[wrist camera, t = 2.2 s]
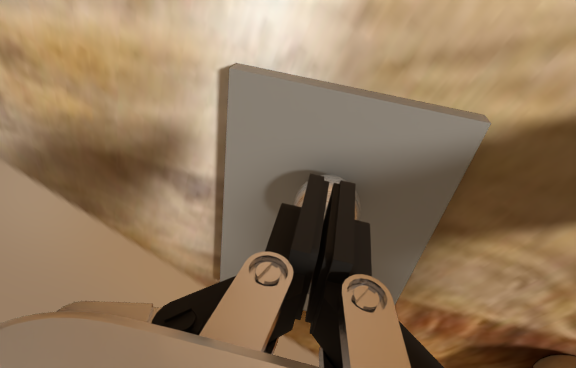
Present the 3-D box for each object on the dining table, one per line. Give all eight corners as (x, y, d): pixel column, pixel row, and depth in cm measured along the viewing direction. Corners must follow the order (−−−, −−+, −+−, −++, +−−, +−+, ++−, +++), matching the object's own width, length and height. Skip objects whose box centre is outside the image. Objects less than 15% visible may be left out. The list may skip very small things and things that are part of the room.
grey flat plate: (484, 115, 23) (491, 123, 22) (380, 319, 36) (380, 331, 35) (236, 63, 25) (229, 67, 23) (224, 276, 38) (219, 287, 37)
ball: (369, 170, 25) (369, 209, 21) (352, 220, 28) (349, 263, 24) (305, 156, 26) (293, 191, 22) (295, 206, 29) (282, 245, 24)
